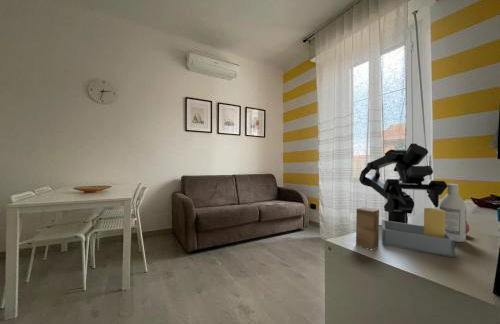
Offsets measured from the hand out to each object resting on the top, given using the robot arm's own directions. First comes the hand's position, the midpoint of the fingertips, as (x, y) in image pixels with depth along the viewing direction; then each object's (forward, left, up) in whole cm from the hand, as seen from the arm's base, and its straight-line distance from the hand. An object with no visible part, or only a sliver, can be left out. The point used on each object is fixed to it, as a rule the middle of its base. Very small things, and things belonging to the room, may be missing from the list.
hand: (421, 205), depth 73 cm
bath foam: (+14, +1, -13) cm, 19 cm away
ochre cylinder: (-3, -7, -12) cm, 14 cm away
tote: (-5, -2, -12) cm, 14 cm away
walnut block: (-22, -2, -12) cm, 26 cm away
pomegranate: (+22, +6, -13) cm, 26 cm away
